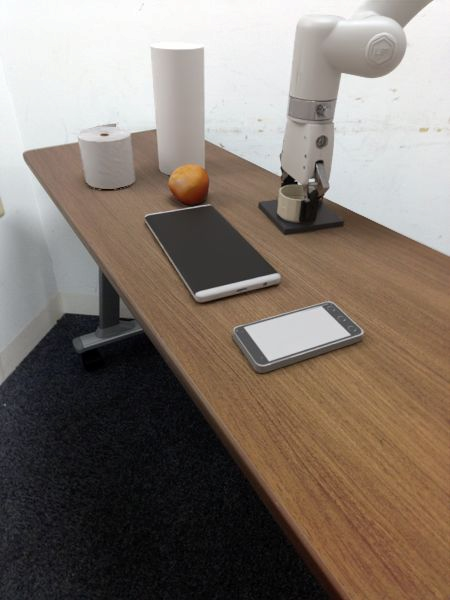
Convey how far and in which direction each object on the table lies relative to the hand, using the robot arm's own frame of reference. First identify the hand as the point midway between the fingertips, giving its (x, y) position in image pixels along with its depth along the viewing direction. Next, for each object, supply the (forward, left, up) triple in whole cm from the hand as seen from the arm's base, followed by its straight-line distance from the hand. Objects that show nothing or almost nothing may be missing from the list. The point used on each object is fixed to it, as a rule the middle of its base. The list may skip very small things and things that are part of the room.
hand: (296, 210), depth 78 cm
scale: (-2, -1, -2) cm, 3 cm away
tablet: (+19, +6, -2) cm, 20 cm away
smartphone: (+14, +30, -2) cm, 33 cm away
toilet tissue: (+30, -29, -2) cm, 42 cm away
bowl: (0, 0, -1) cm, 1 cm away
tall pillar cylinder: (+13, -32, -2) cm, 35 cm away
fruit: (+16, -14, -2) cm, 22 cm away
